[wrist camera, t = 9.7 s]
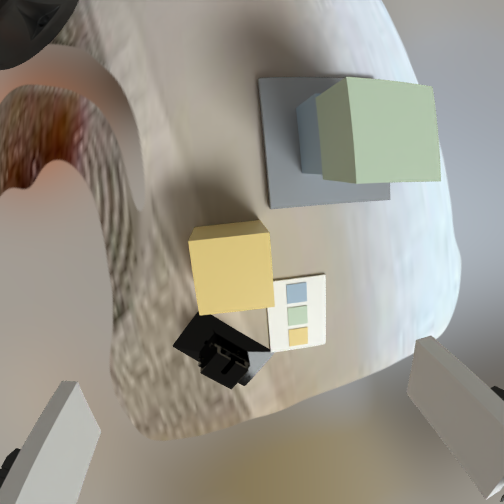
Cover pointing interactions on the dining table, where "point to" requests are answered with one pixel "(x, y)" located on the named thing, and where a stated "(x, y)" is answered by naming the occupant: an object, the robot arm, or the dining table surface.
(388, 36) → the dining table surface
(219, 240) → the ochre brick
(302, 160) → the blue base brick
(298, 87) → the slate board
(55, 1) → the robot arm
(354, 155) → the sage brick
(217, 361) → the black mounting plate
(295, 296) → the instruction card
